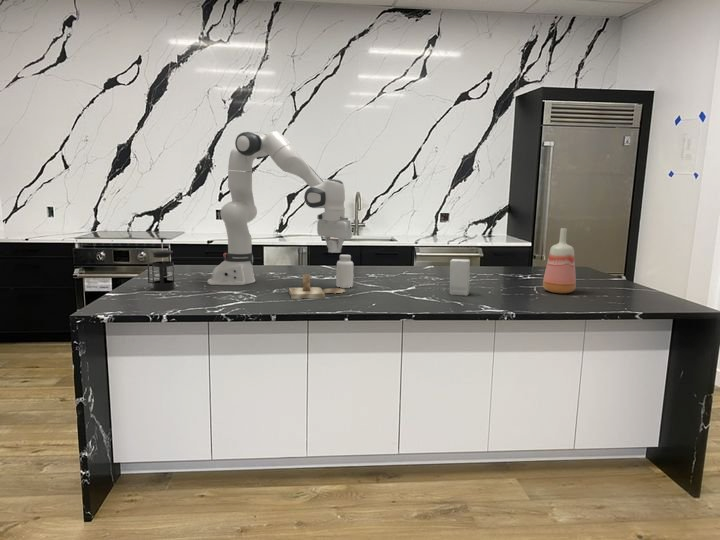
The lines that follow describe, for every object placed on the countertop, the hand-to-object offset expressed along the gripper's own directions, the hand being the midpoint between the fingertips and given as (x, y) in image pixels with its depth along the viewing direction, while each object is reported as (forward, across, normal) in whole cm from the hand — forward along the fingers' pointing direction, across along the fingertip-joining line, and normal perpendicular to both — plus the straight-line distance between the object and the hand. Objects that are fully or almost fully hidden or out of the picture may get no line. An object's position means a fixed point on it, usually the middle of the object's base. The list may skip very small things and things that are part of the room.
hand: (334, 247), depth 244 cm
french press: (+20, +50, +58) cm, 79 cm away
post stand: (+20, +1, +14) cm, 25 cm away
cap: (+2, 0, 0) cm, 2 cm away
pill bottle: (+20, +6, -12) cm, 24 cm away
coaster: (+20, 0, 0) cm, 20 cm away
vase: (+20, -63, -84) cm, 107 cm away
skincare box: (+20, -38, -42) cm, 60 cm away
